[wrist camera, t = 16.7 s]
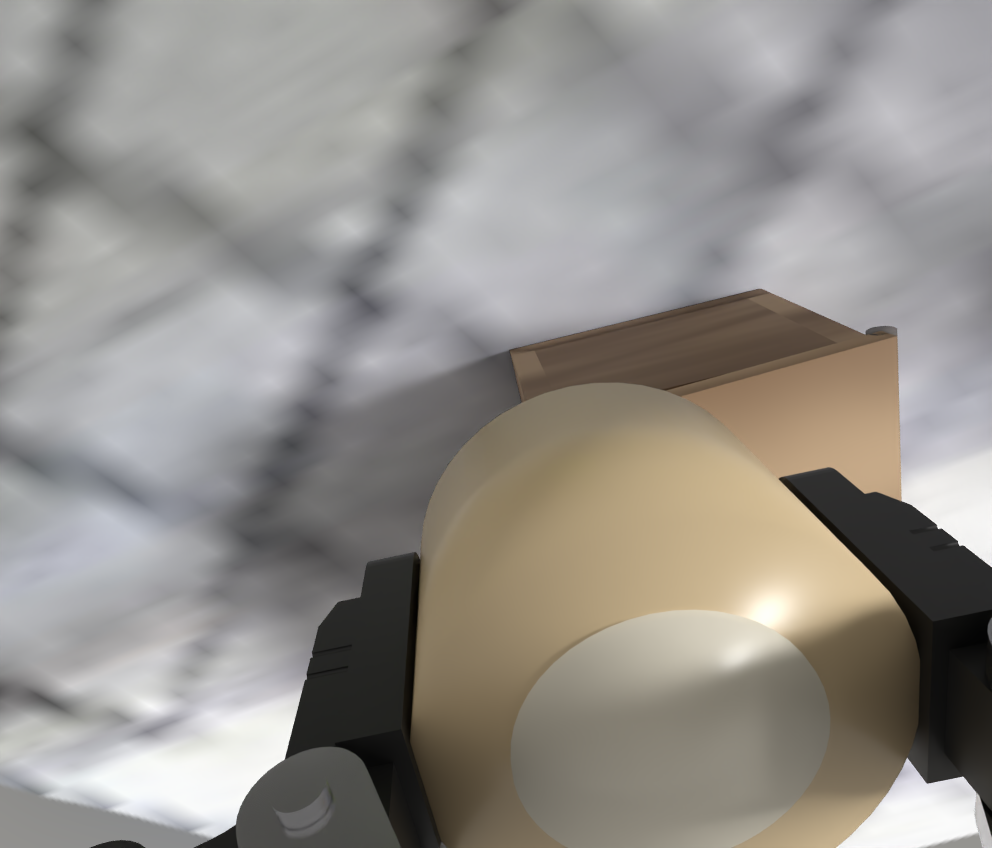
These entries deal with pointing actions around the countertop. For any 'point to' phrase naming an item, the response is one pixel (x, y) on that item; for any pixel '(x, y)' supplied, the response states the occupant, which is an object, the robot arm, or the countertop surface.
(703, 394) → the lid
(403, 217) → the countertop surface
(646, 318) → the box
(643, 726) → the domed cream knob
